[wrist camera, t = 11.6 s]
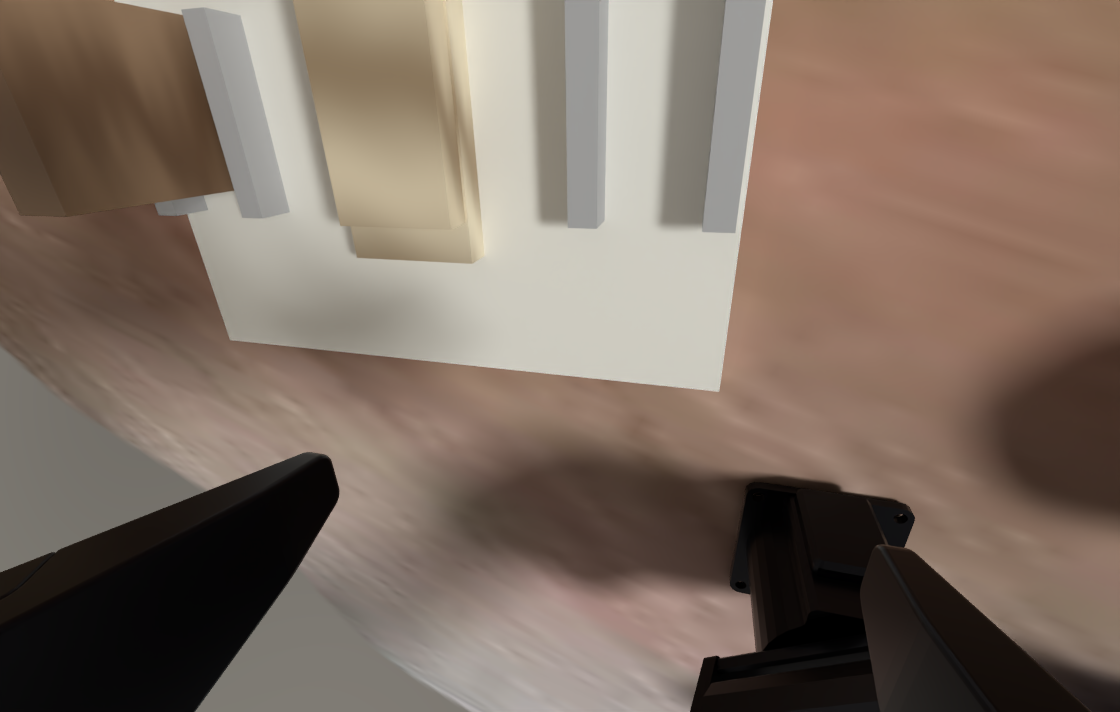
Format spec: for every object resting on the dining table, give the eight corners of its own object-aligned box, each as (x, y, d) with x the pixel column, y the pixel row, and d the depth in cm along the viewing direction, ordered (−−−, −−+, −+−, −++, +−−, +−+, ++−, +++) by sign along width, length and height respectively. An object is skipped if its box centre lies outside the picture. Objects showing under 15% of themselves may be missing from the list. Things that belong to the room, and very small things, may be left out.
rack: (718, 379, 20) (720, 411, 18) (246, 332, 26) (204, 352, 24) (819, -365, 12) (845, -476, 9) (77, -189, 17) (-13, -233, 15)
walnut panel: (252, 187, 21) (66, 216, 15) (214, 187, 21) (20, 215, 15) (205, 19, 18) (-44, -29, 12) (163, 23, 19) (-95, -22, 13)
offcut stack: (484, 255, 19) (458, 272, 17) (374, 250, 21) (337, 265, 19) (456, -65, 15) (416, -94, 13) (319, -48, 16) (262, -72, 14)
